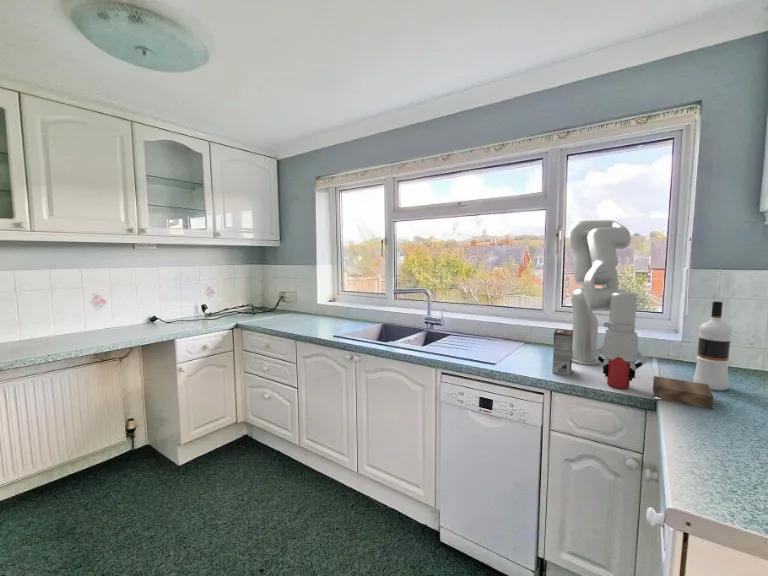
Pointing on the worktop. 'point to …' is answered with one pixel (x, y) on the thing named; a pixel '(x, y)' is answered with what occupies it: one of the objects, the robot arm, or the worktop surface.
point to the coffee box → (562, 351)
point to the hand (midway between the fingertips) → (618, 377)
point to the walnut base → (683, 392)
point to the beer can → (618, 373)
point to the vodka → (713, 351)
